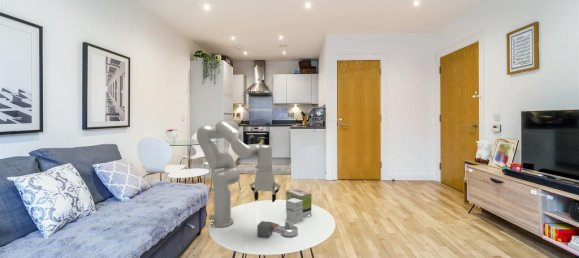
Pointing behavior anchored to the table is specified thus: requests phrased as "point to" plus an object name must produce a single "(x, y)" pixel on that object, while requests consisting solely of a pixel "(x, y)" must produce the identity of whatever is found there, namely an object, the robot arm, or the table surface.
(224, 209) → the robot arm
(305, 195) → the tea box
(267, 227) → the brushed grey cube
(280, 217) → the table surface
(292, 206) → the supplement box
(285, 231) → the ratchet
